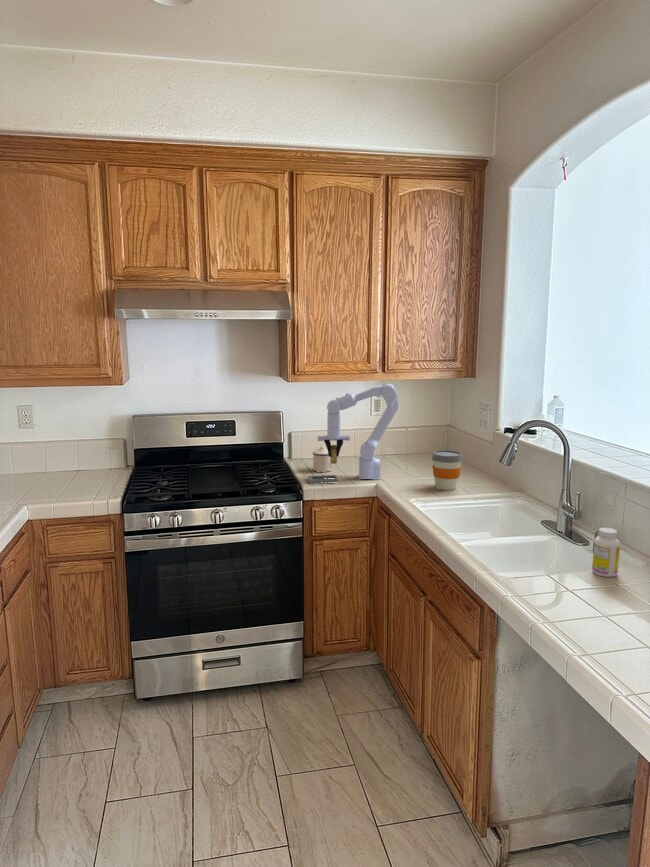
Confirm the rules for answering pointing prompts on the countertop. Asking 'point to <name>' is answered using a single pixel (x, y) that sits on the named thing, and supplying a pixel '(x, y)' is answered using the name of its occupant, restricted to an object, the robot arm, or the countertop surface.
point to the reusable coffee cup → (446, 468)
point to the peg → (333, 454)
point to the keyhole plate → (321, 479)
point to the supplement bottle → (606, 553)
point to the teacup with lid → (321, 460)
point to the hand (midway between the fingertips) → (333, 456)
